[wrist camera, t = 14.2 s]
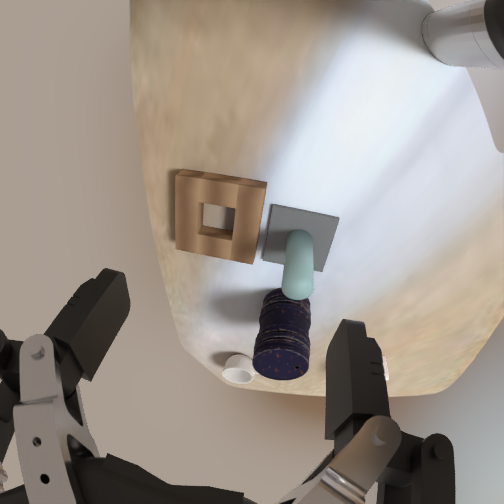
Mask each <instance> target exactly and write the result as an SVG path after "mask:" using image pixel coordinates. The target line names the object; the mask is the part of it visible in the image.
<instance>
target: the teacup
mask: <svg viewBox="0 0 504 504" xmlns="http://www.w3.org/2000/svg"><path fill="white" fill-rule="evenodd" d="M254 374H259V373H258V372H257V371H255V369H254V368H253V366H252V360H251V359H250V358H249V357H247V356H245V355H241V354H237V355H233V356H231V357H230V358H229V359H228V360H227V361H226V363H225V366H224V369H223V372H222V375H223V377H224V378H225V379H227V380H228V381H231V382H234V383H239V384H246V383H250V382H251V381H252V380H253V378H254Z"/></svg>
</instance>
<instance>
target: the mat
mask: <svg viewBox="0 0 504 504" xmlns="http://www.w3.org/2000/svg"><path fill="white" fill-rule="evenodd" d="M338 222H339V217H334V216H330V215H325V214H320V213H316V212H311V211H306V210H301V209H296V208H291V207H286V206H281V205H276V204H273V207H272V213H271V218H270V224H269V229H268V235H267V240H266V245H265V251H264V256H263V261H268V262H273V263H278V264H283V265H284V262H285V253H286V243H287V237H288V235H289V234H290V233H291V232H292V231H295V230H305V231H307V232H308V233H310V235H311V236H312V239H313V268H314V271H320V272H322V271H323V268H324V265H325V262H326V259H327V256H328V253H329V250H330V247H331V244H332V241H333V238H334V235H335V232H336V229H337V225H338Z"/></svg>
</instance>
